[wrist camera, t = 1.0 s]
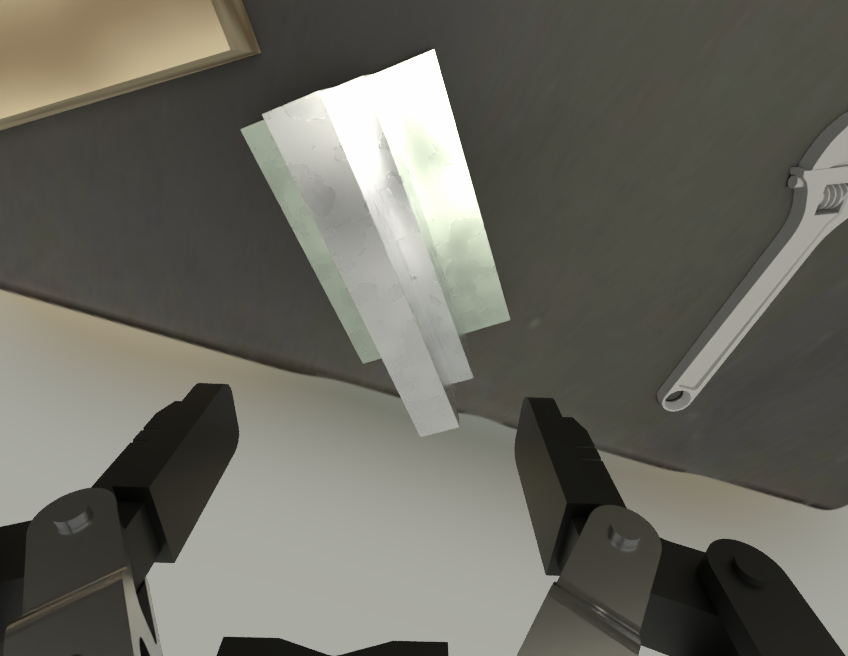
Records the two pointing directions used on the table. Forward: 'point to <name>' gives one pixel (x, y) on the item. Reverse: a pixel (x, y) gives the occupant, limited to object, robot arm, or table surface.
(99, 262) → the table surface
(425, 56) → the stand
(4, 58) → the pine rod
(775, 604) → the robot arm
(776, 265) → the adjustable wrench
